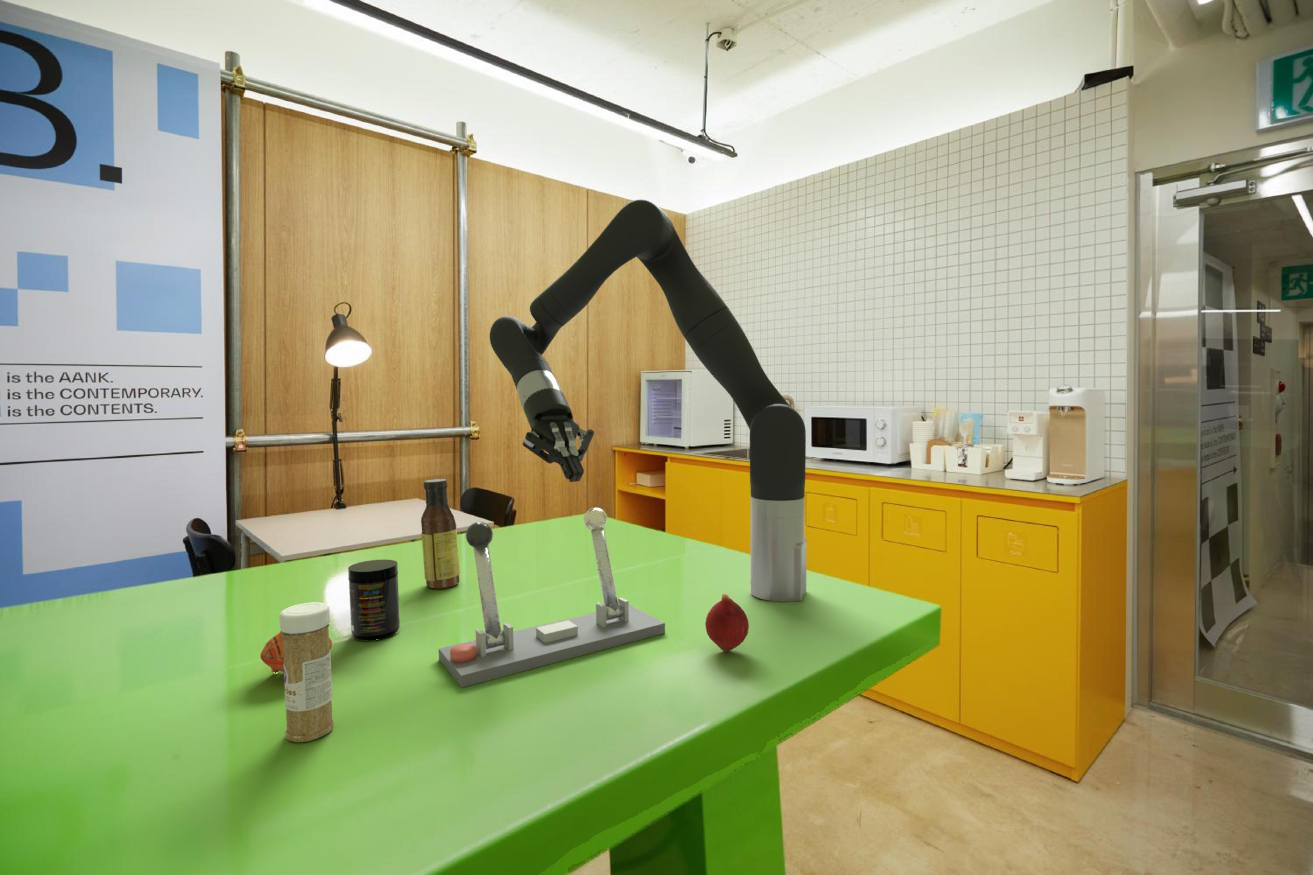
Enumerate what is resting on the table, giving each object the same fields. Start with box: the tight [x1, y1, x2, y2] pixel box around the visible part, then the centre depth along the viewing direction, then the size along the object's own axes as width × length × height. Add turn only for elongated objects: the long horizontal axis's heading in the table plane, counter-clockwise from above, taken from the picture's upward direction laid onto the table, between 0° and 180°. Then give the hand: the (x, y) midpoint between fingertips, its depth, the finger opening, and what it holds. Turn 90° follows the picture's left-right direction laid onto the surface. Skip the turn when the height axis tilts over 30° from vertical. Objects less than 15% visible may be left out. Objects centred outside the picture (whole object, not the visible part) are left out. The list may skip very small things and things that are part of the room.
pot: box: [260, 630, 333, 673], centre depth 81 cm, size 8×8×7 cm
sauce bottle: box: [420, 478, 461, 590], centre depth 118 cm, size 7×6×20 cm
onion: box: [704, 593, 750, 653], centre depth 86 cm, size 6×6×8 cm
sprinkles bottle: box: [279, 601, 335, 743], centre depth 66 cm, size 5×5×14 cm
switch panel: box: [438, 597, 666, 688], centre depth 89 cm, size 10×30×4 cm, turn 124°
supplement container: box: [347, 559, 401, 641], centre depth 94 cm, size 7×7×10 cm
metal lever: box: [583, 507, 623, 620], centre depth 96 cm, size 4×4×17 cm
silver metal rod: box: [465, 521, 506, 649], centre depth 85 cm, size 4×4×17 cm
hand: (576, 478), depth 102 cm, fingers closed
